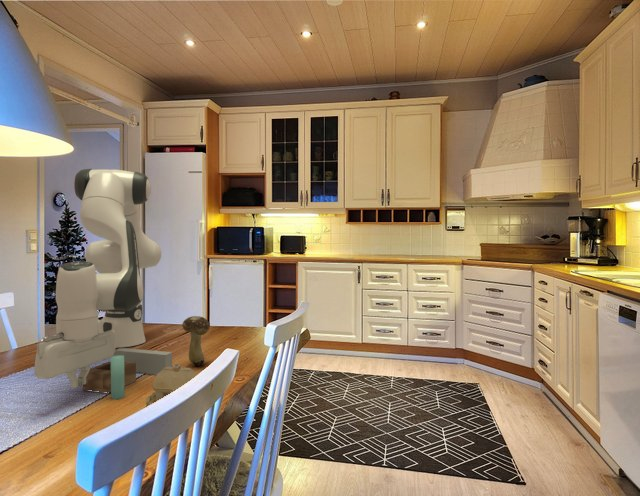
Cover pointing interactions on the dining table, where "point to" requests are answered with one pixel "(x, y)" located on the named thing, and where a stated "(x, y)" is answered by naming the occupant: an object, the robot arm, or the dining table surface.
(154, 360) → the wall
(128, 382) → the open box
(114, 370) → the green rectangular block
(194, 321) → the mushroom
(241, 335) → the dining table surface
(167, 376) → the ceramic model
